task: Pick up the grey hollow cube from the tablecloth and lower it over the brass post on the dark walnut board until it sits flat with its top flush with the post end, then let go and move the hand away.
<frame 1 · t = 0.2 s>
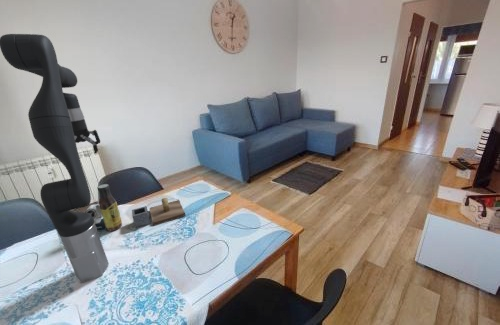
hand: (85, 154, 106), 29 cm above the table, tool pointing down, fingers open, 8 cm apart
sauce bottle: (115, 227, 101), on the table
post board: (167, 213, 110), on the table
grey hollow cube: (142, 222, 103), on the table
watch: (99, 228, 101), on the table
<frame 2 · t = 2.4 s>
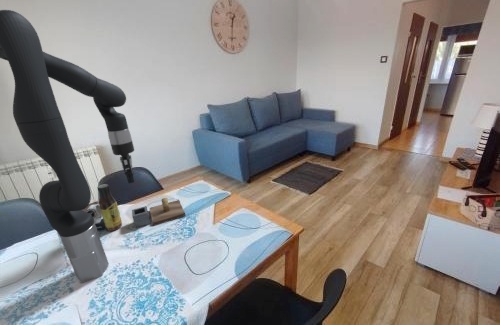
hand: (131, 178, 96), 22 cm above the table, tool pointing down, fingers open, 8 cm apart
nothing on the table moved.
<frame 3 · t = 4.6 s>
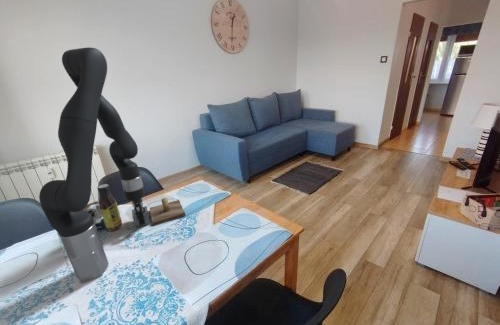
hand: (142, 220, 103), 1 cm above the table, tool pointing down, fingers closed on grey hollow cube, 6 cm apart
grey hollow cube: (142, 222, 103), on the table, touching gripper
everything else where it was.
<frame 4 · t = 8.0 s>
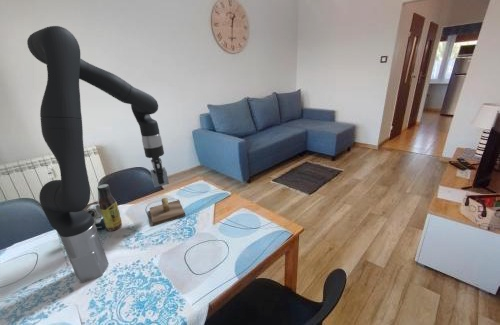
hand: (160, 180, 104), 17 cm above the table, tool pointing down, fingers closed on grey hollow cube, 6 cm apart
grey hollow cube: (160, 183, 104), point 16 cm above the table, touching gripper
everything else where it was.
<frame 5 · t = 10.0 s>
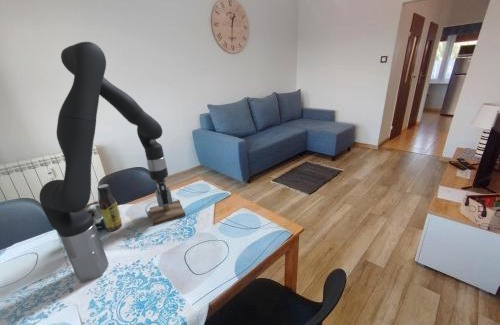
hand: (164, 200, 107), 7 cm above the table, tool pointing down, fingers closed on grey hollow cube, 6 cm apart
grey hollow cube: (165, 202, 108), point 6 cm above the table, touching gripper
everything else where it was.
when the fingers open (4 cm above the table, at t = 11.4 s): grey hollow cube drops 1 cm, resting on post board.
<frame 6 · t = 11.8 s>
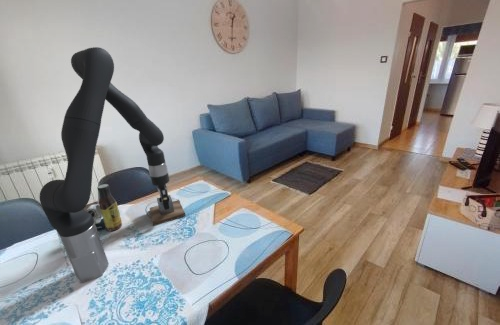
hand: (165, 204, 108), 5 cm above the table, tool pointing down, fingers open, 8 cm apart
grey hollow cube: (166, 210, 109), point 1 cm above the table, touching post board
everything else where it was.
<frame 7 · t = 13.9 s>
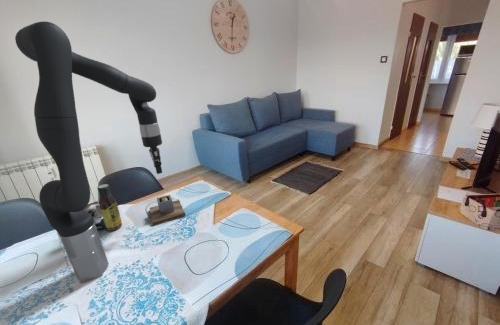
hand: (158, 170, 102), 22 cm above the table, tool pointing down, fingers open, 8 cm apart
nothing on the table moved.
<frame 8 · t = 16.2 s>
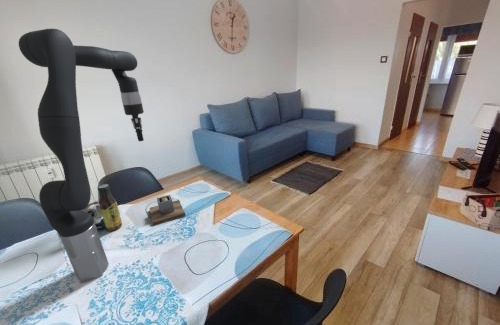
hand: (140, 139, 107), 34 cm above the table, tool pointing down, fingers open, 8 cm apart
nothing on the table moved.
at the end: grey hollow cube 0.0 cm off-centre on the post board, point 1.5 cm above the post board's base; grey hollow cube tilted 0°; the gripper is holding nothing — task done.
